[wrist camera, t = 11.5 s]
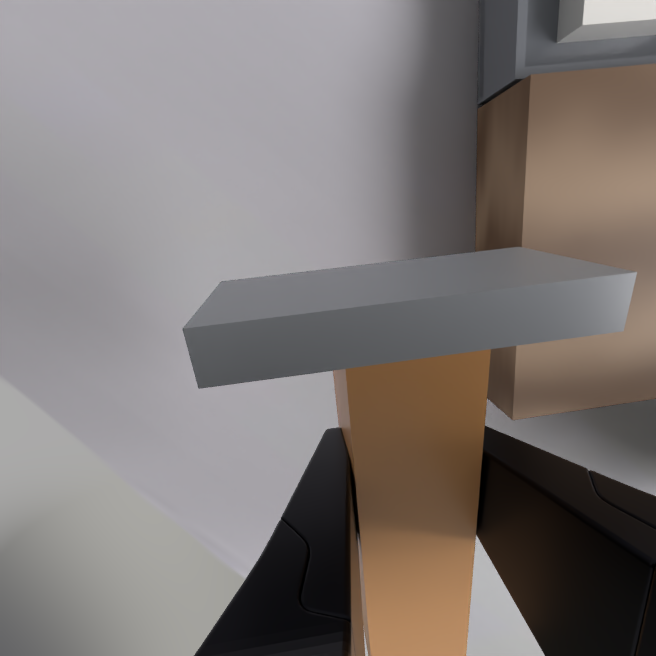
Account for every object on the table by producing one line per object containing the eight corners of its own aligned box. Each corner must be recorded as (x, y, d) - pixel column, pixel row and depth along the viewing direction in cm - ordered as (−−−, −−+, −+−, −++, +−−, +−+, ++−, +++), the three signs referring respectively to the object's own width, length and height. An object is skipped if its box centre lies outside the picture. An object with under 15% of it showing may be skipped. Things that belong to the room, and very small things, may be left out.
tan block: (655, 359, 22) (731, 387, 18) (473, 385, 21) (512, 420, 17) (703, 87, 18) (816, 49, 14) (477, 109, 17) (530, 74, 13)
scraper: (488, 542, 12) (550, 650, 9) (284, 577, 11) (282, 701, 9) (518, 246, 8) (637, 272, 5) (221, 281, 8) (183, 328, 5)
